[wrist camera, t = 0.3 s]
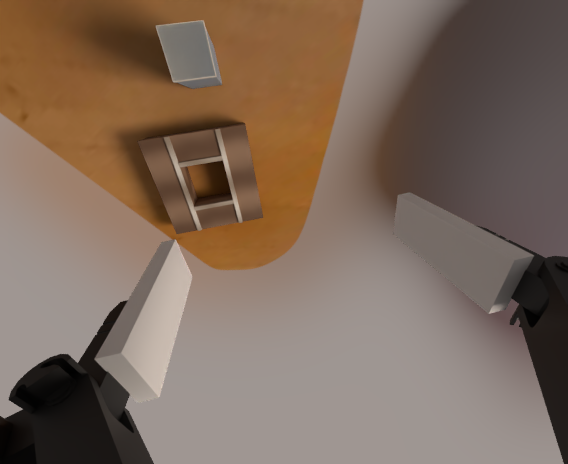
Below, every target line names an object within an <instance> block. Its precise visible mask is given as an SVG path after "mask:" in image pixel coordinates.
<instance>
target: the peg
mask: <svg viewBox="0 0 568 464" xmlns="http://www.w3.org/2000/svg"><path fill="white" fill-rule="evenodd" d="M156 29H157V32H158V35H159V38H160V42H161V45H162V48H163V51H164V54H165V58H166V61H167V64H168V67H169V71H170V74H171V77H172V80H173V82H175V83H179V84H182V85H184V86H187V87H189V88H191V89H195V88H202V87H210V86H217V85H222V81H221V77H220V72H219V68H218V63H217V59H216V54H215V50H214V46H213V44H212V42H211V39H210V37H209V35H208V32H207V30H206V28H205V24H204V21H203V20H202V21H193V22H184V23H175V24H166V25H157V26H156Z"/></svg>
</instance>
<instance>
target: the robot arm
mask: <svg viewBox="0 0 568 464" xmlns="http://www.w3.org/2000/svg"><path fill="white" fill-rule="evenodd" d="M393 234H394V235H395V236H396V237H397V238H398V239H400V240H401V241H402V242H403V243H405V244H406V245H407V246H408V247H409V248H411V249H412V250H413V251H414V252H415V253H416V254H418V255H419V256H420V257H421V258H422V259H424V260H425V261H426V262H427V263H428V264H430V265H431V266H432V267H433V268H434V269H436V270H437V271H438V272H440V274H442V275H443V276H444V277H445V278H447V279H448V280H449V281H450V282H451V283H452V284H454V285H455V286H456V287H457V288H458V289H460V290H461V291H462V292H463V293H464V294H466V295H467V296H468V297H469V298H470V299H472V300H473V301H474V302H475V303H476V304H478V305H479V306H480V307H481V308H482V309H484V310H485V311H486V312H487V313H493V312H497V311H501V310H505V309H506V308H507V306H508V304H509V302H510V300H511V298H512V299H514V300H515V301H516V302H517V303H519V305H518V307H517V309H516V311H515V312H514V314H513V316H512V318H511V320H510V325H514V323H515V322H516V320H518V319H519V320H520V325H519V327H521V328H522V330H523V333H524V336H525V340H526V343H527V345H528V349H529V353H530V356H531V359H532V362H533V365H534V368H535V372H536V375H537V378H538V381H539V385H540V387H541V391H542V394H543V397H544V400H545V404H546V407H547V410H548V414H549V417H550V420H551V423H552V426H553V430H554V433H555V436H556V439H557V443H558V446H559V449H560V452H561V455H562V459H563V462H564V464H568V257H561V256H552V257H548V258H544V257H543V256H541V255H539V254H537V253H535V252H533V251H531V250H529V249H526V248H524V247H522V246H520V245H518V244H516V243H514V242H512V241H510V240H509V241H508V240H507V239H506V238H504V237H502V236H498V234H496V233H494V232H492V231H490V230H488V229H486V228H483V227H479V226H475V225H473V224H471V223H469V222H467V221H465V220H463V219H461V218H459V217H457V216H455V215H453V214H451V213H449V212H447V211H445V210H443V209H441V208H439V207H437V206H435V205H434V204H432V203H430V202H428V201H426V200H423V199H422V198H420V197H418V196H416V195H414V194H412V193H405V194H400V195H398V200H397V207H396V215H395V223H394V230H393ZM191 280H192V275H191V273H190V270H189V268H188V266H187V264H186V261H185V259H184V257H183V255H182V253H181V250H180V248H179V246H178V244H177V241H176V239H175V240H171V241H165V242H161V244H160V246H159V247H158V249H157V251H156V253H155V255H154V256H153V258H152V260H151V261H150V263H149V265H148V267H147V268H146V270H145V272H144V274H143V275H142V277H141V279H140V280H139V282H138V284H137V286H136V287H135V289H134V291H133V293H132V295H131V296H130V298H129V300H127V301H123V302H120V303H119V304H118V305H117V306H116V307H115V308H114V309H113V310H112V311H111V312H110V313H109V315H108V316H107V318H106V319H105V321H104V323H103V325H102V326H101V327H100V329H99V330H98V332H97V335H95V337H94V338H93V340H92V342H91V343H90V345H89V346H88V348H87V350H86V351H85V353H84V354H83V356H82V357H81V359H80V361H79V362H78V363H77V362H75V360H74V359H72V358H71V357H70V356H69V355H68V354H59V355H57V356H53V357H50V358H49V359H47V360H45V361H43V362H41V363H39V364H38V365H37V366H35V367H34V368H32V369H31V370H30V371H28V372H27V373H26V374H25V375H24V376H23V377H22V378H21V379H20V380H19V381H18V382H17V384H16V385H15V387H14V388H13V390H12V391H11V393H10V397H9V400H10V401H11V402H13V403H14V404H16V405H18V406H19V407H21V408H22V409H23V410H21V411H19V412H17V413H15V414H13V415H11V416H9V417H7V418H5V419H4V418H3V417H1V416H0V464H154V463H153V461H152V459H151V457H150V454H149V452H148V451H147V448H146V446H145V444H144V442H143V440H142V438H141V436H140V434H139V431H138V430H137V428H136V425H135V423H134V421H133V419H132V417H131V415H130V413H129V411H128V410H127V409H126V408H125V406H126V403H127V400H128V398H129V395H130V396H131V397H132V398H133V399H134V400H135V401H136V402H137V403H140V402H144V401H148V400H152V399H156V398H159V397H160V393H161V390H162V386H163V382H164V379H165V375H166V371H167V368H168V364H169V360H170V357H171V353H172V349H173V346H174V342H175V339H176V335H177V331H178V328H179V324H180V321H181V317H182V313H183V310H184V306H185V302H186V299H187V295H188V292H189V288H190V284H191Z"/></svg>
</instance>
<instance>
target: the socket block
mask: <svg viewBox="0 0 568 464" xmlns="http://www.w3.org/2000/svg"><path fill="white" fill-rule="evenodd" d="M137 142H138V144H139V146H140V149H141V151H142V154H143V156H144V158H145V161H146V163H147V165H148V168H149V170H150V172H151V175H152V177H153V179H154V182H155V184H156V186H157V189H158V191H159V193H160V196H161V198H162V201H163V203H164V205H165V208H166V210H167V212H168V215H169V217H170V219H171V222H172V224H173V226H174V229H175V231H176V233H177V234H180V233H185V232H190V231H195V230H198V231H200V230H202V229H206V228H211V227H216V226H222V225H227V224H232V223H237V222H239V223H242V222H243V221H248V220H253V219H258V218H263V214H262V209H261V204H260V199H259V193H258V188H257V183H256V178H255V173H254V167H253V162H252V157H251V152H250V147H249V142H248V136H247V131H246V126H245V123H242V124H235V125H229V126H222V127H216V128H209V129H203V130H196V131H190V132H183V133H176V134H170V135H163V136H157V137H150V138H145V139H142V140H139V141H137ZM222 160H223V162H224V166H225V170H226V174H227V178H228V182H229V186H230V190H231V193H226V194H220V195H215V196H209V197H204V198H197V195H196V192H195V189H194V186H193V183H192V180H191V177H190V174H189V172H188V169H187V166H192V165H198V164H204V163H210V162H216V161H222Z"/></svg>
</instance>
